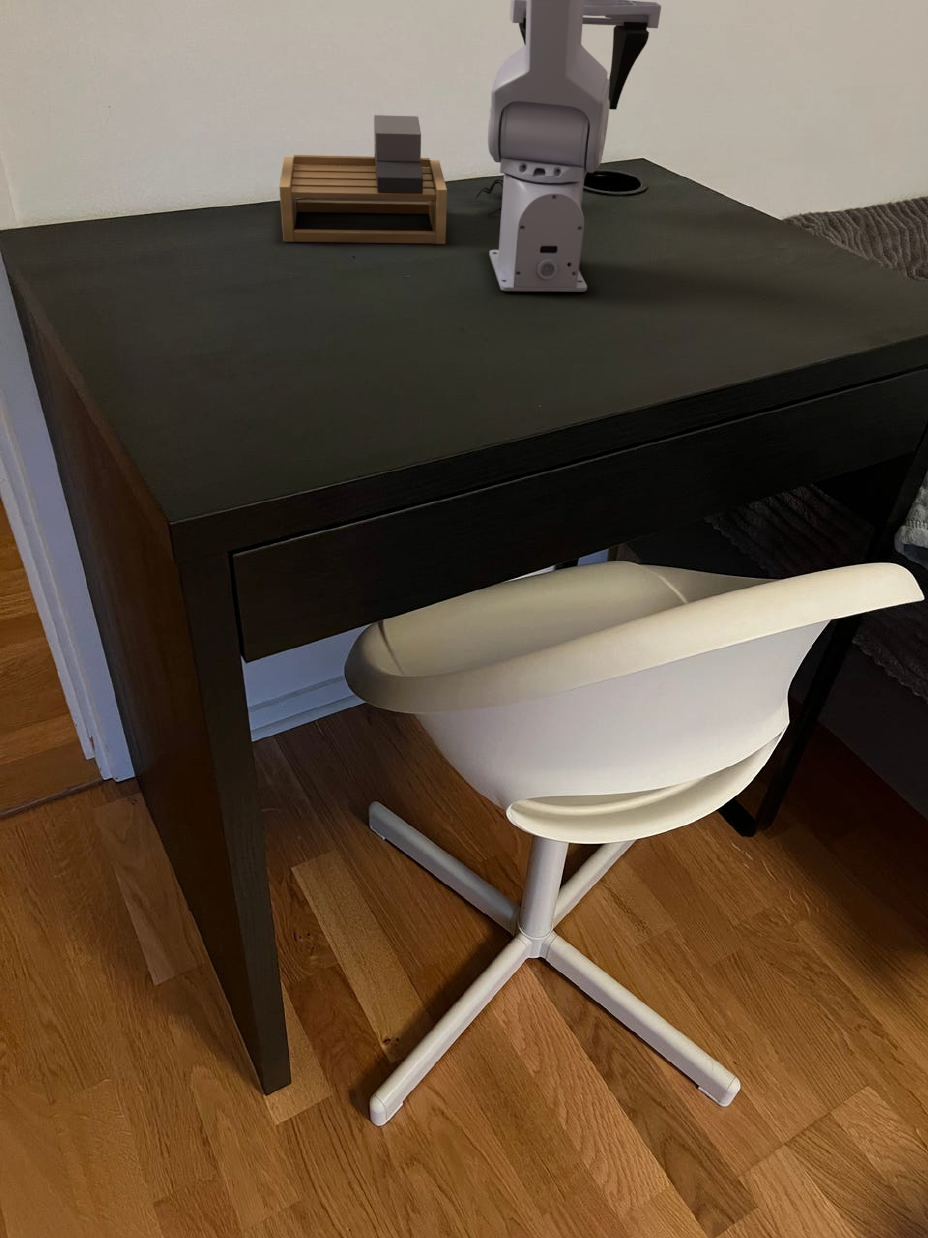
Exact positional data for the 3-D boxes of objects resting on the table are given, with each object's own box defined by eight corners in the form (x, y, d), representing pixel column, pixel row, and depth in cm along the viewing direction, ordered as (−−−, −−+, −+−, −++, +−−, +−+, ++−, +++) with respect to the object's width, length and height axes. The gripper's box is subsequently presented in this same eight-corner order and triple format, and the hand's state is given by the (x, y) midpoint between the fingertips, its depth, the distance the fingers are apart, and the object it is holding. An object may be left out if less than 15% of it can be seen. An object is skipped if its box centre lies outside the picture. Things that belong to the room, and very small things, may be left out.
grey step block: (422, 193, 92) (423, 149, 89) (377, 192, 92) (376, 148, 89) (417, 158, 98) (418, 115, 95) (374, 157, 98) (374, 114, 95)
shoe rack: (445, 244, 95) (447, 187, 91) (283, 242, 93) (279, 184, 90) (437, 211, 102) (439, 157, 99) (287, 209, 101) (283, 154, 97)
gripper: (656, -57, 93) (634, 98, 102) (510, -63, 91) (500, 94, 100) (676, -48, 87) (650, 115, 96) (521, -55, 86) (509, 111, 95)
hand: (574, 106), depth 98 cm, fingers open, 7 cm apart
